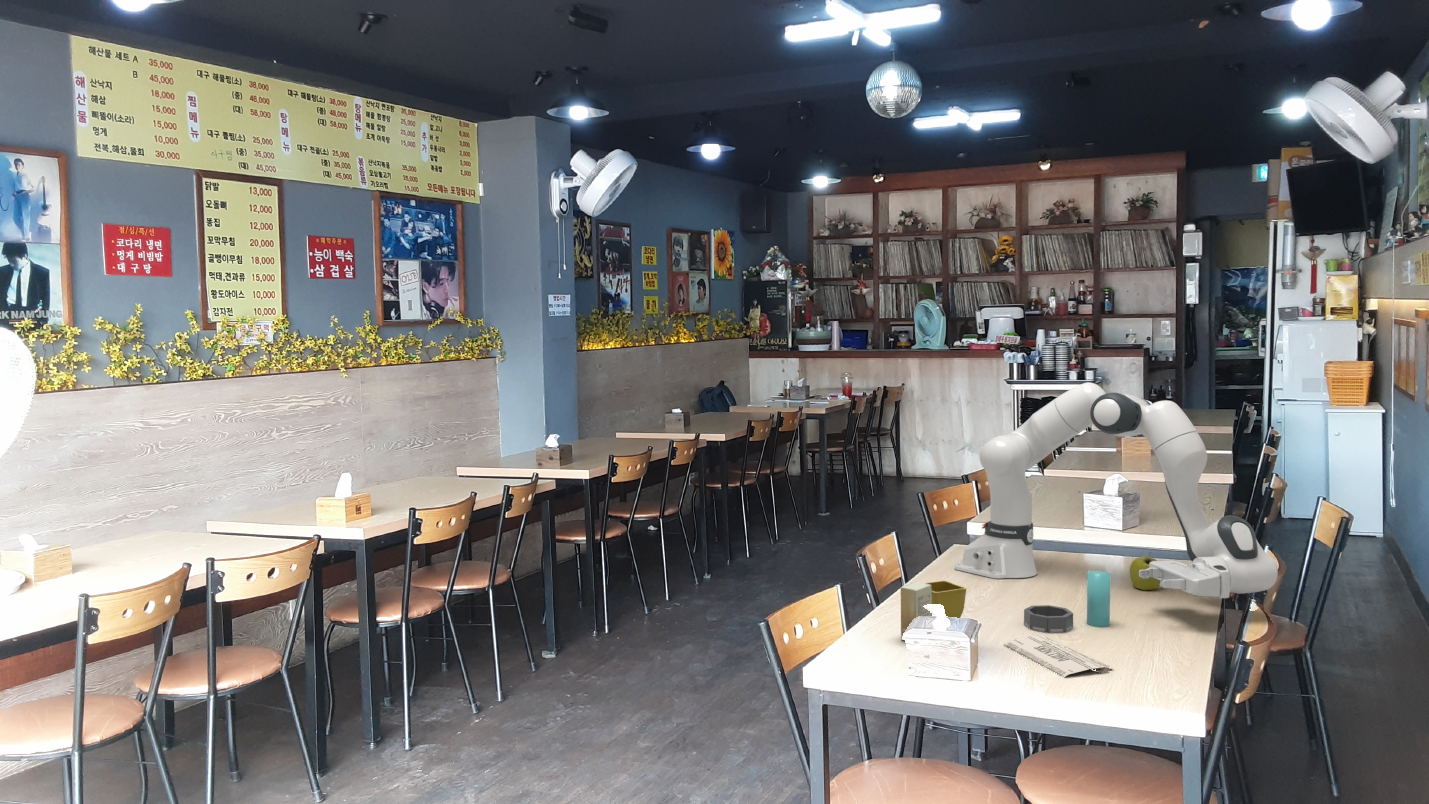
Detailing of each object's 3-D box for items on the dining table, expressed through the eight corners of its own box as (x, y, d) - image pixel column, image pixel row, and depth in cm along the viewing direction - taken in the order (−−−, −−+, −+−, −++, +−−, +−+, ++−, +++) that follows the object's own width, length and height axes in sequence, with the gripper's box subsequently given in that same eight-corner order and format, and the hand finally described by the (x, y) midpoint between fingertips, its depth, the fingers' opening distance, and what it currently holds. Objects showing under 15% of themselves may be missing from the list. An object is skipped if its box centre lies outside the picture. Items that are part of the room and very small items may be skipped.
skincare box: (916, 634, 235) (916, 581, 234) (932, 638, 232) (932, 584, 231) (899, 640, 230) (899, 586, 229) (915, 644, 227) (916, 589, 226)
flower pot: (913, 621, 245) (913, 583, 244) (944, 616, 248) (944, 579, 248) (935, 631, 237) (935, 592, 236) (967, 626, 240) (967, 588, 240)
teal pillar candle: (1083, 624, 241) (1083, 573, 240) (1091, 619, 244) (1092, 569, 243) (1104, 628, 237) (1105, 576, 236) (1113, 623, 241) (1113, 572, 240)
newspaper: (1117, 674, 208) (1116, 662, 208) (1065, 687, 205) (1064, 675, 205) (1050, 640, 230) (1049, 630, 230) (1001, 651, 227) (1001, 640, 226)
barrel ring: (1016, 627, 239) (1017, 612, 239) (1036, 617, 247) (1036, 602, 247) (1060, 635, 232) (1060, 620, 232) (1079, 625, 240) (1079, 610, 240)
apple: (1128, 578, 278) (1141, 545, 275) (1159, 591, 274) (1171, 557, 271) (1121, 585, 271) (1133, 550, 269) (1151, 598, 267) (1164, 563, 265)
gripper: (1182, 553, 253) (1128, 556, 251) (1233, 572, 232) (1174, 575, 231) (1182, 579, 253) (1128, 581, 252) (1233, 600, 233) (1174, 603, 231)
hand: (1150, 578), depth 241 cm, fingers open, 8 cm apart
